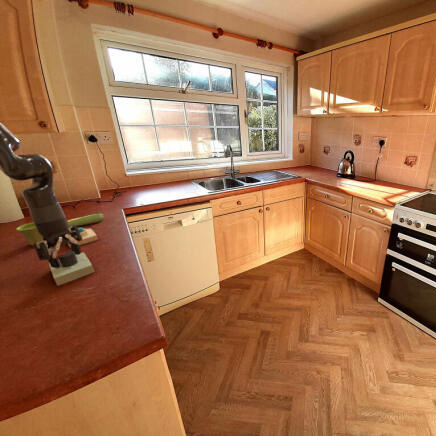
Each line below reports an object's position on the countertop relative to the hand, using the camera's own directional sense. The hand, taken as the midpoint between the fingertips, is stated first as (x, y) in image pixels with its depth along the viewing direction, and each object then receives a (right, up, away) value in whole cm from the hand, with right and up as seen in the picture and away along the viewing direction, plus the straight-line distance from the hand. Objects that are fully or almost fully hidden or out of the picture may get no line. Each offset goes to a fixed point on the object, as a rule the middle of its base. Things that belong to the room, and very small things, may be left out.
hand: (67, 260), depth 85 cm
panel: (0, -4, +2) cm, 5 cm away
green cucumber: (-31, +11, +41) cm, 53 cm away
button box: (-17, +5, +26) cm, 31 cm away
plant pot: (-34, +4, +24) cm, 42 cm away
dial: (0, -1, +1) cm, 1 cm away
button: (-17, +8, +24) cm, 31 cm away
